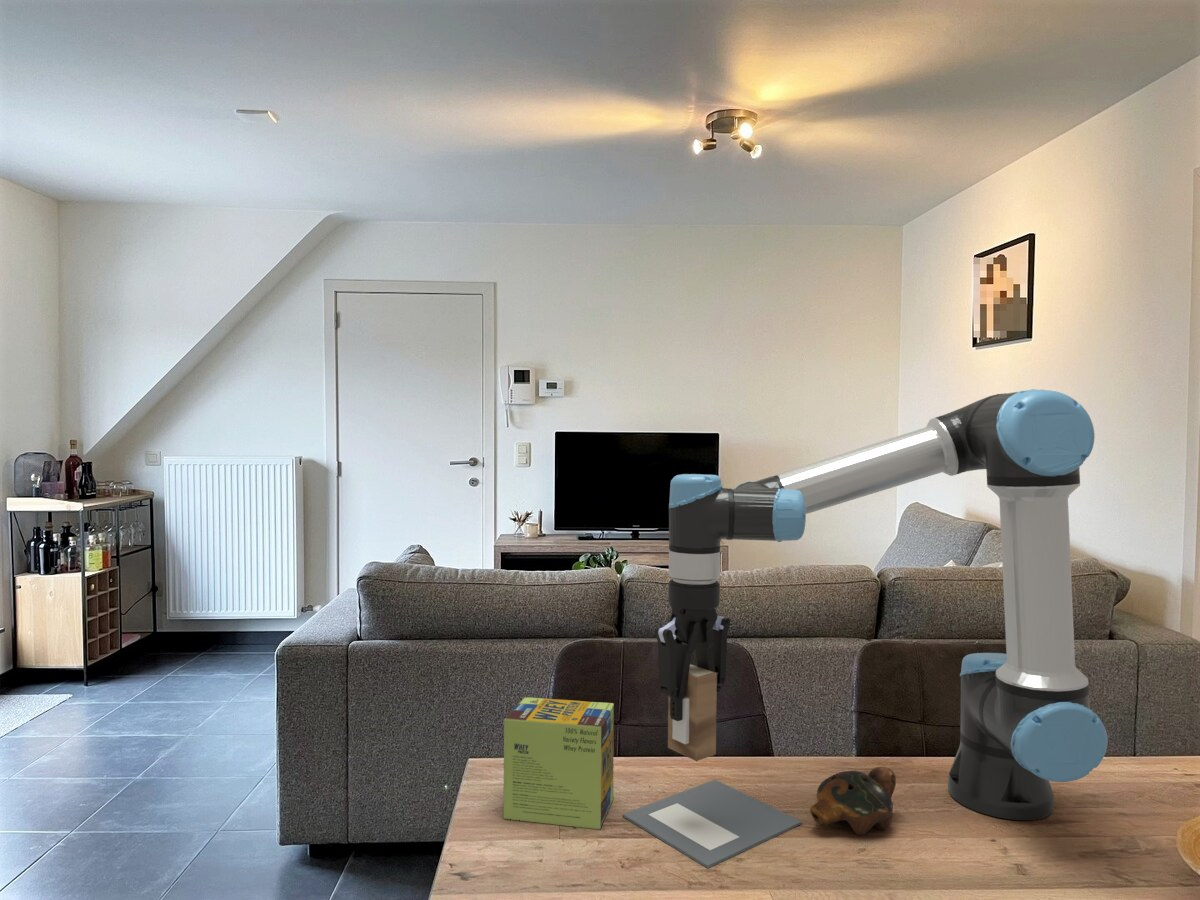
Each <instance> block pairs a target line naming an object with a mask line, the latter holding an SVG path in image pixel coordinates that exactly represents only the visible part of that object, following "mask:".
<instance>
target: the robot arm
mask: <svg viewBox="0 0 1200 900" xmlns="http://www.w3.org/2000/svg"><path fill="white" fill-rule="evenodd" d="M1094 443H1095V429H1094V425H1093V422H1092V419H1091V417H1090V415H1089V413H1088V411H1087V410H1086V409H1085V407H1084V406H1083V405H1082V404H1080V403H1079V402H1078V401H1077V400H1076V399H1074V398H1073V397H1071V396H1069V395H1067V394H1065V393H1064V392H1063V393H1062V392H1060V391H1055V390H1047V389H1035V388H1034V389H1033V388H1032V389H1027V390H1020V391H1015V392H1008V393H1007V392H1006V393H996V394H992V395H989V396H987V397H984V398H982V399H979V400H976V401H974V402H972V403H970V404H968V405H965V406H962V407H961V408H957V409H955V410H953V411H951V412H948V413H945V414H942V415H939V416H936V417H933V418H930V419H929V421H928V422H927V425H926V426H925V427H923V428H919V429H917V430H914V431H910V432H907V433H904V434H900V435H896V436H895V437H892V438H888V439H884V440H881V441H879V442H875V443H872V444H868V445H866V446H862V447H859V448H856V449H852V450H851V451H847V452H844V453H840V454H838V455H834V456H832V457H828V458H825V459H822V460H819V461H816V462H815V461H814V462H812V463H808V464H806V465H802V466H800V467H797V468H796V467H795V468H794V469H793V468H792V469H791V470H787V471H784V472H780V473H778V474H776V475H773V476H768V477H765V478H762V479H759V480H756V481H746V482H743V483H740V484H738V485H737V486H735V488H727V487H723V484H722V480H721V477H720V476H719V475H717V474H701V473H698V474H697V473H690V474H689V473H682V474H677V475H675V476H673V478H672V479H671V480H670V487H669V503H668V575H669V577H670V578H671V579H670V580H669V581H668V582H667V583H668V585H667V586H668V590H667V591H668V592H667V593H668V594H667V597H668V604H669V607H670V608H671V614H670V616H669V621H668V623H667V624H665V625H664V626H663V627H660V626H657V627H655V630H654V635H655V638H656V641H657V651H658V652H657V653H658V654H657V659H658V660H657V661H658V663H657V665H658V667H657V668H658V692H659V693H660V694H662V695H664V696H667V697H668V696H669V697H670V717H671V719H673V733H672V739H674V740H677V741H679V742H681V743H683V744H688V743H689V698H687V697H685V694H686V688H687V681H688V675H689V668H690V664H691V662H692V661H691V660H692V657H693V656H692V654H693V653H694V652H695V657H696V658H695V659H696V664H697V665H696V666H698V667H701V668H704V669H707V670H710V671H713V672H716V673H717V693H719V692H720V691H721V689H722V687H721V686H722V685H724V684H725V683H726V673H727V651H728V650H727V649H728V647H727V646H728V632H729V629H730V625H731V619H730V618H727V617H724V616H721V615H718V612H717V609H716V608H718V607H719V606H720V604H721V602H720V601H721V598H720V597H721V596H720V595H721V592H720V591H721V584H720V582H719V581H718V579H719V578H720V577H721V541H722V540H727V541H732V540H739V541H740V540H742V541H772V542H774V541H776V542H778V543H781V542H783V541H784V542H785V541H786V542H788V541H789V542H790V541H798V540H800V539H802V537H803V536H804V533H805V530H806V529H805V528H806V521H807V520H806V518H807V517H806V516H807V515H809V514H811V513H814V512H818V511H821V510H823V509H827V508H831V507H834V506H837V505H841V504H843V503H847V502H850V501H853V500H856V499H860V498H863V497H866V496H869V495H873V494H877V493H879V492H883V491H886V490H889V489H892V488H896V487H899V486H902V485H905V484H908V483H912V482H916V481H918V480H922V479H925V478H928V477H932V476H934V475H937V474H940V473H943V474H946V475H948V476H950V477H953V476H957V475H960V474H962V473H967V472H971V471H977V470H986V472H985V473H986V486H987V488H988V489H989V490H990V491H992V493H994V494H995V495H997V497H998V499H999V500H998V501H999V517H1000V520H999V521H1000V539H1001V562H1002V563H1001V566H1002V581H1003V582H1002V584H1003V586H1002V587H1003V604H1004V605H1003V606H1004V608H1003V609H1004V626H1005V629H1004V630H1005V648H1006V649H1005V650H1006V651H1005V652H1006V653H1003V652H1002V653H1001V652H975V653H974V652H973V653H969V654H966V655H965V656H964V657H963V658H962V660H961V667H960V670H961V671H960V673H959V677H960V740H959V741H960V743H959V747H958V749H957V750H956V755H955V757H954V760H953V762H952V764H951V767H950V769H949V772H948V775H947V776H948V777H947V783H948V784H947V792H948V793H949V795H950V796H951V798H952V799H954V800H955V801H956V802H958V803H959V804H960V805H962V806H965V807H966V808H969V809H971V810H972V811H976V812H978V813H979V814H980V813H981V814H983V815H987V816H992V817H996V818H999V819H1000V818H1001V819H1005V820H1015V821H1034V820H1041V819H1044V818H1047V817H1049V816H1050V815H1051V814H1052V813H1053V812H1054V807H1055V805H1054V803H1055V801H1054V800H1055V799H1054V798H1055V797H1054V791H1053V789H1052V788H1053V787H1052V786H1051V782H1054V783H1068V782H1074V781H1078V780H1081V779H1083V778H1084V777H1087V775H1088V776H1089V774H1090V772H1092V771H1093V770H1094V769H1096V768H1097V767H1098V766H1100V764H1101V763H1102V762H1103V759H1104V757H1105V755H1106V752H1107V749H1108V740H1109V739H1108V733H1107V729H1106V727H1105V725H1104V723H1103V722H1102V720H1101V719H1100V717H1099V716H1098V714H1097V713H1095V712H1094V710H1093V709H1091V707H1090V706H1091V705H1090V703H1091V702H1090V684H1089V679H1088V677H1087V676H1086V675H1085V674H1084V673H1082V672H1081V671H1080V670H1079V669H1078V668H1077V666H1076V655H1075V633H1074V632H1075V631H1074V610H1073V609H1074V608H1073V607H1074V606H1073V590H1072V589H1073V586H1072V562H1071V561H1072V560H1071V539H1070V536H1071V535H1070V517H1069V516H1070V513H1069V497H1070V495H1071V494H1072V493H1073V492H1075V490H1077V489H1078V488H1079V487H1080V486H1081V475H1080V473H1081V470H1080V467H1081V466H1082V465H1083V464H1084V462H1085V461H1086V460H1087V459H1088V458H1090V455H1091V453H1092V451H1093V448H1094ZM720 685H721V686H720ZM677 688H678V689H677Z"/></svg>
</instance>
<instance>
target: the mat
mask: <svg viewBox="0 0 1200 900" xmlns="http://www.w3.org/2000/svg"><path fill="white" fill-rule="evenodd" d="M622 818H624V819H625V820H627V821H628V822H630V823H632V824H634V825H636V826H637V827H638V828H640V829H642V830H644V831H646V833H649V834H651V836H653V837H655V838H657V839H658V840H660V841H662V842H663V843H665V844H667V845H668V846H669V847H672V848H673V849H675V850H676V851H678V852H679V853H681V854H683V855H685V856H686V857H688V858H690V859H692V860H693V861H694V862H696V863H697V864H699V865H701V866H703V867H704V868H706V869H710V868H712V867H714V866H716V865H718V864H720V863H723V862H725V861H727V860H729V859H731V858H733V857H735V856H737V855H739V854H741V853H744V852H746V851H747V850H750V849H752V848H754V847H757V846H758V845H760V844H762V843H763V844H764V843H765V842H767V841H769V840H771V839H773V838H775V836H776V837H778V836H779V835H782V834H784V833H786V832H788V831H790V830H792V829H794V827H795V828H797V827H799V826H801V825H803V821H802V820H800V819H798V818H797V817H794V816H792V815H790V814H788V813H786V812H784V811H781V810H779V809H777V808H776V807H773V806H770V805H769V804H767V803H764V802H763V801H761V800H759V799H757V798H754V797H752V796H751V795H748V794H746V793H745V792H742V791H739V790H738V789H736V788H734V787H731V786H729V785H727V784H725V783H723V782H721V781H719V780H717V779H713V780H709V781H707V782H705V783H702V784H699V785H697V786H694V787H692V788H689V789H686V790H684V791H681V792H678V793H675V794H673V795H670V796H667V797H665V798H662V799H660V800H657V801H654V802H652V803H649V804H647V805H643V806H641V807H638V808H635V809H633V810H631V811H628V812H625V813H623V814H622ZM800 824H801V825H800ZM798 825H799V826H798ZM796 826H797V827H796Z"/></svg>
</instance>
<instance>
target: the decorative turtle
mask: <svg viewBox="0 0 1200 900" xmlns="http://www.w3.org/2000/svg"><path fill="white" fill-rule="evenodd" d="M896 780H897V777H896V774H895V772H894V770H893V769H891V768H890V767H886V766H876V767H874V768H873V769H871V770H870V771H869V774H866V773H863V772H861V771H857V770H848V771H847V770H846V771H841V772H838V773H835V774H833V775H830V776H829V777H827V778H826V779H824V780H823V781H822V782H821V783H820V784H819V786H818V787H817V790H816V800H817V801H816V802H815V803H814V804H813V805H811V806H810V809H809V812H810V814H811V817H812V819H813V820H814V822H815V823H816V824H818V825H820V826H827V825H830V824H834V823H838V822H840V821H846V822H847V823H848V824H849V825H850V827H851V829H852V830H853V832H854V833H855V834H856V835H857V836H861V837H862V836H864V835H865V834H866V833H868V832H869V831H870V830H871V828H873V826H875V828H877V829H878V830H880V831H885V830H887V829H888V828H889V825H890V823H891V820H892V815H893V809H894V807H893V806H894V805H893V804H894V803H893V801H892V796H893V795H894V792H895V788H896V785H897V784H896V783H897V781H896Z"/></svg>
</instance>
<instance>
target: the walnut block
mask: <svg viewBox="0 0 1200 900" xmlns="http://www.w3.org/2000/svg"><path fill="white" fill-rule="evenodd" d="M717 674H718V672H717V673H716V672H713V671H710V670H707V669H704V668H701V667H698V666H697V665H694V664H691V663H690V668H689V675H688V681H687V688H686V694H685V697H687V698H689V743H688V744H683V743H681V742H679V741H677V740H674V739H672V733H673V719H671V717H670V697H669V696H667V697H668V698H667V699H668V701H667V703H668V705H667V708H668V709H667V748H668V749H670V750H672V751H674V752H675V753H678V754H680V755H683V756H684V757H686V758H688V759H690V760H693V761H695V762H698V761H701V760H704V759H706V758H709V757H712V756H715V755H717V702H718V701H717V694H718V692H717ZM677 689H678V688H677Z"/></svg>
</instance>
